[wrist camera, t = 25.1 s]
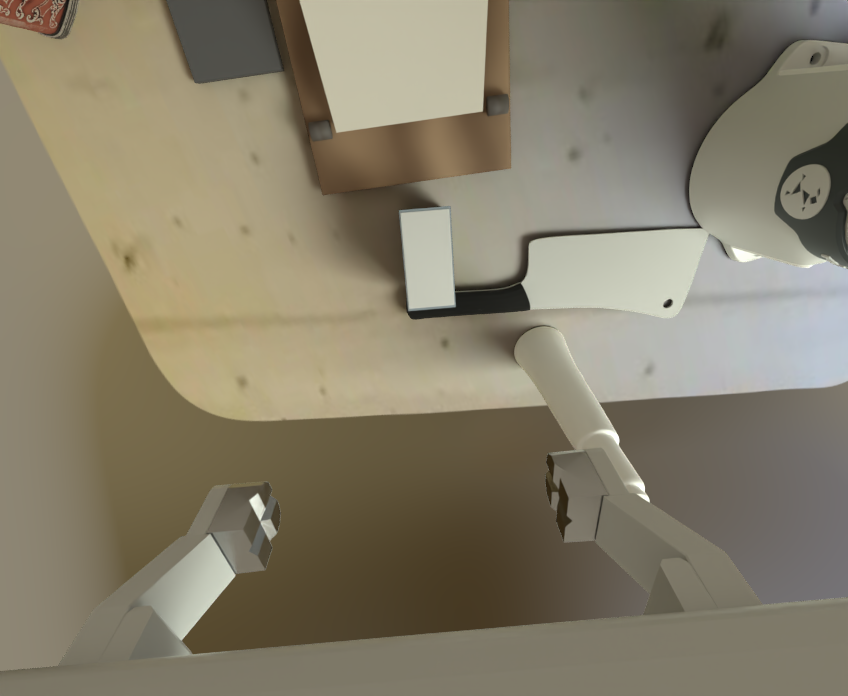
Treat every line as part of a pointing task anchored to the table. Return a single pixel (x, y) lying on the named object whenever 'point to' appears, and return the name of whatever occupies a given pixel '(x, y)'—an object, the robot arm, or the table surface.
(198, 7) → the pad
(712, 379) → the table surface
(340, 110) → the tile
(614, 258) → the kitchen cleaver
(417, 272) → the grey rectangular prism
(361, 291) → the table surface
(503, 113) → the hinge board
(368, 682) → the robot arm
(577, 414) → the cosmetic bottle
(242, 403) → the table surface
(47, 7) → the lighter
